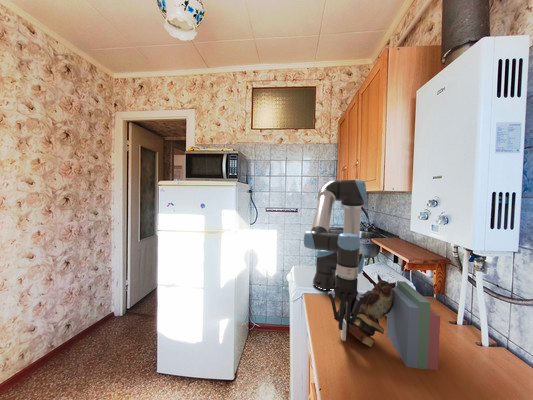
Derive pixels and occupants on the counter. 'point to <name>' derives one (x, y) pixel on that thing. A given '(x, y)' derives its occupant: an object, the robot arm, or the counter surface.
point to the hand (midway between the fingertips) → (343, 337)
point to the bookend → (371, 311)
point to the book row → (413, 328)
